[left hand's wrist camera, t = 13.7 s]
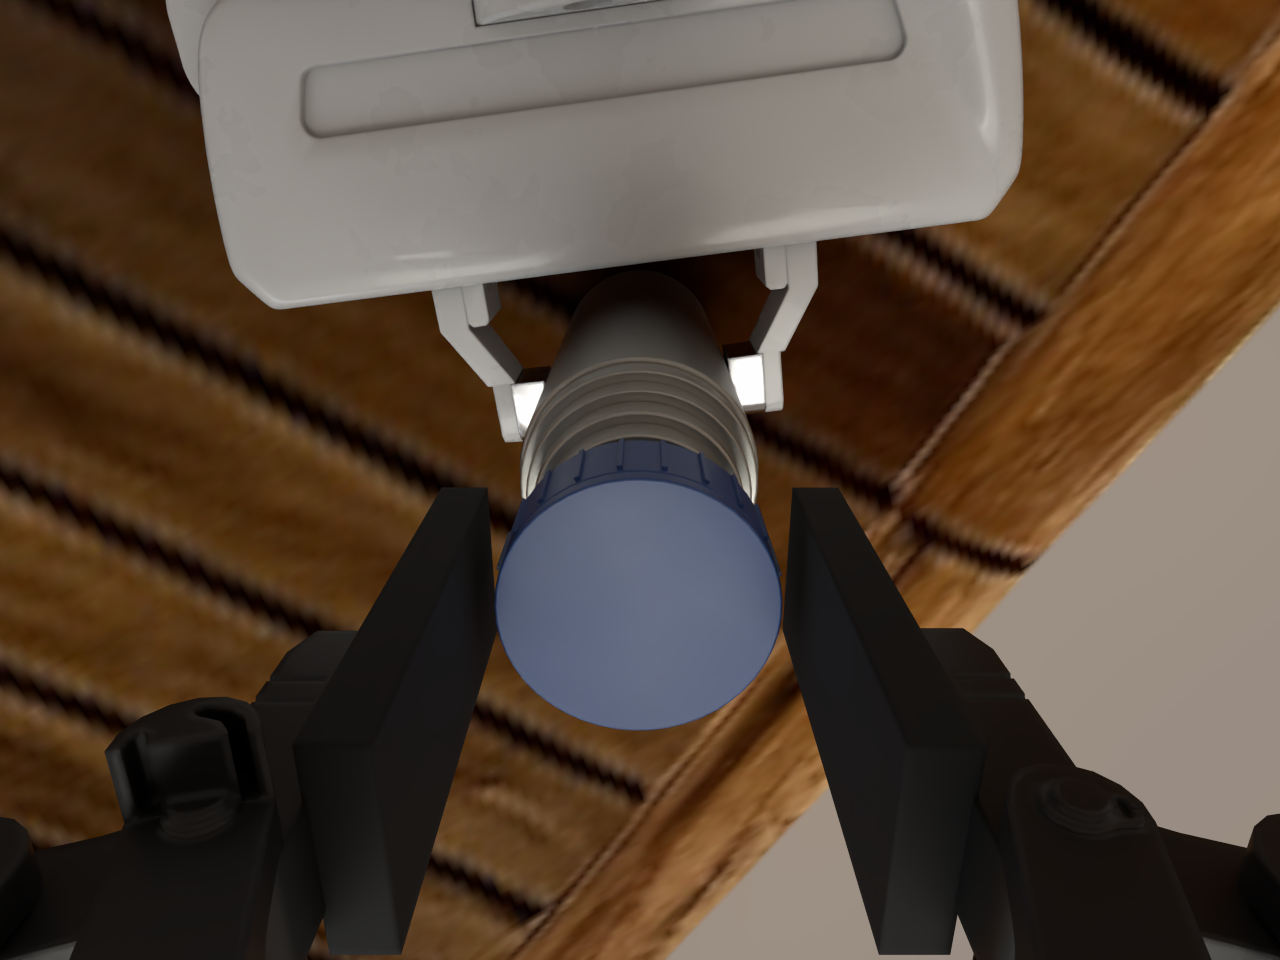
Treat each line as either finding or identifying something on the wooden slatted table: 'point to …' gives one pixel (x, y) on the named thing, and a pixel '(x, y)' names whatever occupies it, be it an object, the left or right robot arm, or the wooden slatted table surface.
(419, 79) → the right robot arm
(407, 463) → the wooden slatted table surface
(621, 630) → the cap
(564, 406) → the bottle
